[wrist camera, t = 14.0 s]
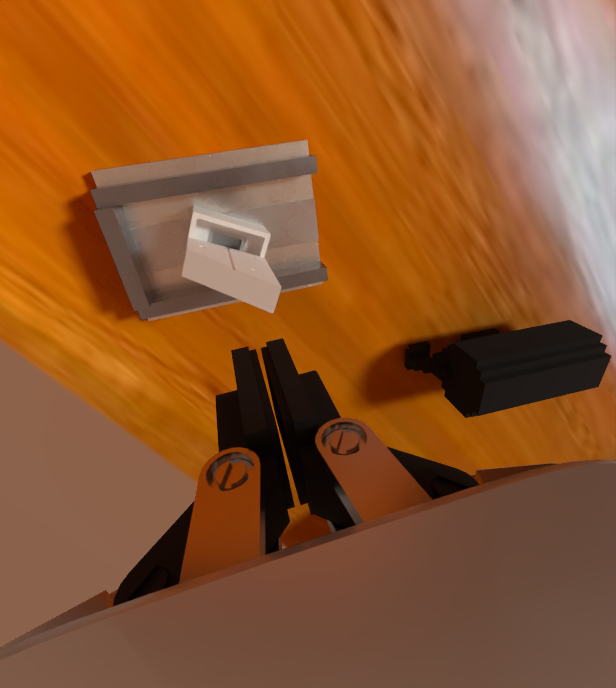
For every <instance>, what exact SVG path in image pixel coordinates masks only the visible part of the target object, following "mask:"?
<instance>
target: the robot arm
mask: <svg viewBox="0 0 616 688" xmlns="http://www.w3.org/2000/svg"><path fill="white" fill-rule="evenodd" d="M266 344H267V347H263V348H261V351H262V356H263V360H264V365H265V369H266V374H267V379H268V383H269V388H270V392H271V397H272V401H273V406H274V411H275V415H276V419H277V423H278V426H279V430H280V434H281V437H282V441H283V444H284V448H285V451H286V455H287V458H288V462H289V466H290V469H291V473H292V476H293V480H294V483H295V487H296V490H297V494H298V498H299V501H300V504H301V505H303V504H306V503H308V506H309V509H310V512H311V515H312V514H315V515H317V516H319V517H322V518H324V519H326V520H327V522H328V525H329V528H330V530H331V532H332V533H330V534H327V535H324V536H321V537H318V538H315V539H312V540H309V541H306V542H303V543H300V544H297V545H294V546H291V547H288V548H285V549H282V543H281V538H280V536H281V534H282V533H283V531H284V530H285V528H286V527H287V525H288V524H289V522H290V519H289V515H288V511H287V509H290V508H293V507H295V506H294V501H293V497H292V492H291V488H290V483H289V479H288V474H287V470H286V465H285V461H284V456H283V452H282V447H281V442H280V438H279V433H278V429H277V425H276V421H275V417H274V414H273V410H272V407H271V403H270V399H269V396H268V392H267V388H266V385H265V381H264V378H263V374H262V370H261V367H260V363H259V359H258V356H257V352H256V349H255V350H250V351H249V348H248V347H244V348H239V349H235V350H231V351H232V358H233V364H234V371H235V377H236V384H237V390H236V391H232V392H228V393H224V394H220V395H216V413H217V429H218V446H219V453H217V454H215V455H214V456H213V457H212V458H210V459H209V460H208V461H207V462H206V464H205V465H204V466H203V468H202V470H201V473H200V475H199V480H198V485H197V491H196V496H195V501H194V502H193V503H192V504H191V505H190V506H189V507H188V509H187V510H186V511H185V512H184V513H183V514H182V515H181V516H180V517H179V518H178V520H177V521H176V522H175V523H174V524H173V525H172V526H171V527H170V528H169V529H168V531H167V532H166V533H165V534H164V535H163V536H162V537H161V538H160V539H159V540H158V542H157V543H156V544H155V545H154V546H153V547H152V548H151V549H150V550H149V551H148V553H147V554H146V555H145V556H144V557H143V558H142V559H141V560H140V561H139V562H138V564H137V565H136V566H135V567H134V568H133V569H132V570H131V571H130V572H129V574H128V575H127V577H126V578H125V579H124V580H123V582H122V583H121V584H120V586H119V589H117V590H116V591H114V592H112V593H110V594H108V592H107V591H106V590H105V591H103V592H101V593H99V594H98V595H95V596H94V597H92V598H90V599H88V600H86V601H85V602H82V603H81V604H79V605H77V606H75V607H73V608H71V609H69V610H68V611H66V612H64V613H62V614H60V615H58V616H56V617H55V618H53V619H51V620H49V621H47V622H46V623H44V624H42V625H40V626H38V627H36V628H34V629H33V630H31V631H29V632H27V633H25V634H23V635H21V636H19V637H18V638H16V639H14V640H12V641H10V642H8V643H7V644H5V645H4V646H2V647H0V688H616V460H587V461H573V462H567V463H562V464H554V463H548V464H537V465H527V466H516V467H505V468H495V469H484V470H476V475H469V474H467V473H466V472H463V471H461V470H459V469H456V468H453V467H450V466H447V465H444V464H440V463H437V462H434V461H431V460H428V459H424V458H421V457H418V456H415V455H412V454H408V453H405V452H402V451H399V450H396V449H392V448H389V447H386V446H385V445H384V444H383V442H382V441H381V440H380V439H379V438H378V437H377V436H376V434H375V433H374V432H373V431H372V430H371V429H370V428H369V427H368V426H367V425H366V424H365V423H364V422H361V421H359V420H357V419H352V418H341V417H340V415H339V413H338V411H337V409H336V407H335V405H334V404H333V402H332V400H331V398H330V396H329V394H328V392H327V390H326V388H325V386H324V384H323V382H322V381H321V379H320V377H319V375H318V373H317V371H311V372H307V373H303V374H298V372H297V370H296V368H295V365H294V363H293V361H292V358H291V356H290V354H289V351H288V349H287V347H286V344H285V342H284V340H283V338H282V339H278V340H274V341H269V342H266Z"/></svg>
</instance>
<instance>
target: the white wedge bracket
mask: <svg viewBox="0 0 616 688" xmlns="http://www.w3.org/2000/svg"><path fill="white" fill-rule="evenodd" d="M214 232H216V233H219V234H223V235H226V236H230V237H233V238H237V239H240V240H239V244H238V248H237V249H233V248H230V247H226V246H222V245H219V244H215V243H211V242H212V238H213V233H214ZM270 236H271V234H270V233H269V232H268V230H267V229H266V228H265V227H264V226H261V225H258V224H254V223H251V222H248V221H244V220H241V219H238V218H235V217H231V216H228V215H225V214H221V213H218V212H215V211H212V210H208V209H205V208H202V207H198V206H195V205H194V206H193V211H192V216H191V221H190V226H189V232H188V237H187V242H186V247H185V253H184V261H183V269H182V276H183V277H185V278H188V279H190V280H192V281H195V282H197V283H200V284H202V285H205V286H207V287H209V288H212V289H214V290H217V291H219V292H222V293H224V294H226V295H229V296H231V297H234V298H236V299H239V300H241V301H243V302H246V303H248V304H251V305H253V306H256V307H258V308H261V309H263V310H265V311H268V312H270V313H274V310H275V307H276V304H277V300H278V297H279V294H280V291H281V288H282V287H281V285H280V284H279V282H278V280H277V278H276V277H275V275H274V273H273V272H272V270H271V268H270V266H269V265H268V263H267V261H266V259H265V258H264V257H265V254H266V250H267V247H268V243H269V240H270Z"/></svg>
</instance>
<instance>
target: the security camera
mask: <svg viewBox="0 0 616 688" xmlns="http://www.w3.org/2000/svg"><path fill="white" fill-rule="evenodd" d="M601 338H602V335H600V334H598V333H596V332H594V331H592V330H590V329H588V328H585V327H583V326H581V325H579V324H577V323H575V322H573V321H571V320H567V321H562V322H557V323H552V324H547V325H542V326H536V327H531V328H526V329H521V330H516V331H511V332H505V333H500V334H499V331H498V330H496V329H490V330H485V331H479V332H474V333H469V334H463V335H461V341H459V342H454V343H453V345H448V347H447V348H443V350H442V352H438V353H433V358H430V357H429V352H430V344H429V343H428V342H421V343H416V344H411V345H409V349H406V356H405V367H406V368H407V369H408V370H409V369H413V370H414V371H419V370H422V371H423V372H424V373H425V374H426V373H431V372H432V373H433V374H434V375H435V376H437V377H438V378H439V379H440V380H442V385H441V387H442V388H443V389H444V390H445V395H444V396H445V397H446V398H447V399H448V400H449V401H450V402H451V403H452V404H453V405H454V406H455V408H456V409H457V410H458V411H459V412H460V413H461V414H462V415H463V416H464V417H465V418H467V417H474V416H480V415H484V414H488V413H492V412H496V411H500V410H505V409H509V408H513V407H517V406H521V405H525V404H529V403H533V402H538V401H542V400H546V399H550V398H554V397H558V396H562V395H566V394H570V393H575V392H579V391H583V390H587V389H591V388H595V387H599V384H600V382H601V379H602V377H603V375H604V372H605V370H606V368H607V365H608V363H609V361H610V358H611V355H609V354H607V353H605V349H606V347H607V345H605V344H603V343H601V342H600V340H601Z"/></svg>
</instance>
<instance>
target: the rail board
mask: <svg viewBox="0 0 616 688" xmlns="http://www.w3.org/2000/svg"><path fill="white" fill-rule="evenodd" d="M91 173H92V176H93V178H94V181H95V184H96V186H97V187H96V188H94V189H91V190H90V192H91V194H92V197H93V199H94V202H95V204H96V207H97V209H96V210H94V213H95V215H96V218H97V220H98V223H99V225H100V228H101V230H102V233H103V235H104V238H105V240H106V243H107V245H108V248H109V250H110V253H111V255H112V258H113V260H114V262H115V265H116V267H117V270H118V272H119V275H120V277H121V280H122V282H123V285H124V287H125V290H126V292H127V295H128V297H129V300H130V302H131V305H132V307H133V310H134V311H138V313H139V315H140V318H141V320H143V319H148V321H152V320H156V319H161V318H166V317H170V316H175V315H180V314H184V313H189V312H194V311H198V310H203V309H208V308H212V307H217V306H222V305H226V304H231V303H236V302H240V301H241V300H239V299H236V298H234V297H231V296H229V295H226V294H224V293H222V292H219V291H217V290H214V289H212V288H209V287H207V286H205V285H202V284H200V283H197V282H195V281H192V280H190V279H188V278H185V277H183V276H182V269H183V261H184V253H185V247H186V242H187V237H188V232H189V226H190V221H191V216H192V211H193V206H194V205H195V206H198V207H202V208H205V209H208V210H212V211H215V212H218V213H221V214H225V215H228V216H231V217H235V218H238V219H241V220H244V221H248V222H251V223H254V224H258V225H261V226H264V227H265V228H266V229H267V230H268V232H269V233H270V234H271V236H270V240H269V243H268V247H267V250H266V254H265V257H264V258H265V259H266V261H267V263H268V265H269V266H270V268H271V270H272V272H273V273H274V275H275V277H276V278H277V280H278V282H279V284H280V285H281V287H282V288H281V291H280V293H282V292H287V291H292V290H296V289H301V288H306V287H310V286H315V285H320V284H322V281H326V280H328V277H327V267H326V266H325V265H324V264H323V263H322V262H321V261H320V256H319V247H318V240H319V238H318V229H317V219H316V210H315V200H314V198H313V190H312V180H311V174H315V173H317V163H316V156H315V155H309V152H308V142H307V140H301V141H294V142H287V143H280V144H273V145H266V146H259V147H252V148H245V149H238V150H231V151H225V152H218V153H211V154H204V155H197V156H190V157H183V158H176V159H169V160H162V161H155V162H148V163H142V164H135V165H128V166H121V167H114V168H107V169H100V170H94V171H91ZM239 240H240V239H237V238H233V237H230V236H226V235H223V234H219V233H216V232H214V233H213V238H212V242H211V243H215V244H219V245H222V246H226V247H230V248H233V249H237V248H238V244H239Z"/></svg>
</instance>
